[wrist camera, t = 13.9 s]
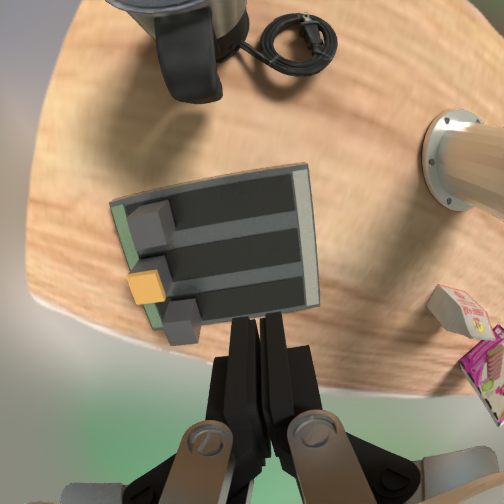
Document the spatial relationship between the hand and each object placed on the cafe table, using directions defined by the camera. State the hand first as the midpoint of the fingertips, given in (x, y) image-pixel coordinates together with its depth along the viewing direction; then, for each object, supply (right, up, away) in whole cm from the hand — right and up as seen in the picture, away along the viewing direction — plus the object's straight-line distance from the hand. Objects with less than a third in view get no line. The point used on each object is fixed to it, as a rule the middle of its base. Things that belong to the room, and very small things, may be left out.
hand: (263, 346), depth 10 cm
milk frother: (-1, +25, +13) cm, 28 cm away
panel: (-4, +3, +22) cm, 22 cm away
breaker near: (-10, +7, +18) cm, 21 cm away
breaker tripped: (-11, +1, +20) cm, 23 cm away
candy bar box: (+43, -15, +32) cm, 56 cm away
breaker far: (-8, -3, +22) cm, 24 cm away
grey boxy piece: (+28, -3, +26) cm, 38 cm away
